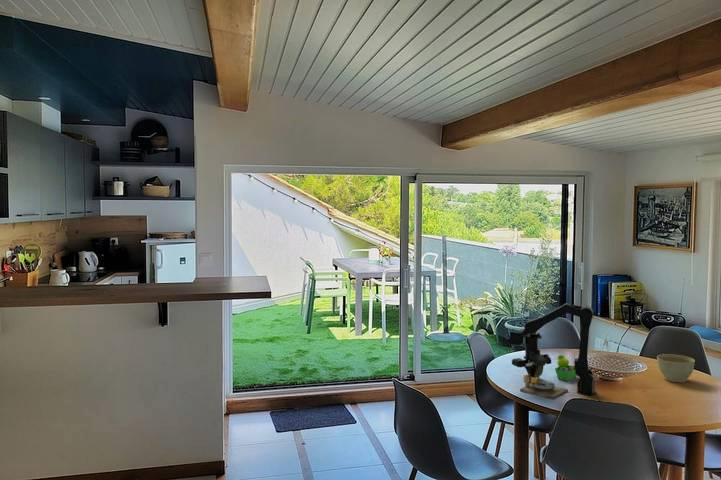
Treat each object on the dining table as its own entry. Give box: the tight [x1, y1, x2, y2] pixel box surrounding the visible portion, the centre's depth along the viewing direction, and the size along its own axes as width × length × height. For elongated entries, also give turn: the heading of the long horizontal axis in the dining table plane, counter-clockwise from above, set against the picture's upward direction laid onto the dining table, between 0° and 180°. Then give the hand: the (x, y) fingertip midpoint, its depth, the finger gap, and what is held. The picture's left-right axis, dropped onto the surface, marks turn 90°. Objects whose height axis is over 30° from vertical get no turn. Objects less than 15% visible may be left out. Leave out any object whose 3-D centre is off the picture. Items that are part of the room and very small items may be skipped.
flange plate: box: [523, 374, 556, 390], centre depth 249 cm, size 14×10×3 cm
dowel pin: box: [524, 376, 530, 387], centre depth 251 cm, size 2×2×5 cm
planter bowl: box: [656, 353, 696, 383], centre depth 263 cm, size 16×16×11 cm
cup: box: [529, 361, 544, 380], centre depth 267 cm, size 8×7×8 cm
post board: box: [519, 380, 569, 400], centre depth 248 cm, size 16×15×5 cm
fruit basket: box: [554, 354, 578, 381], centre depth 268 cm, size 11×9×11 cm
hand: (531, 379), depth 255 cm, fingers closed
